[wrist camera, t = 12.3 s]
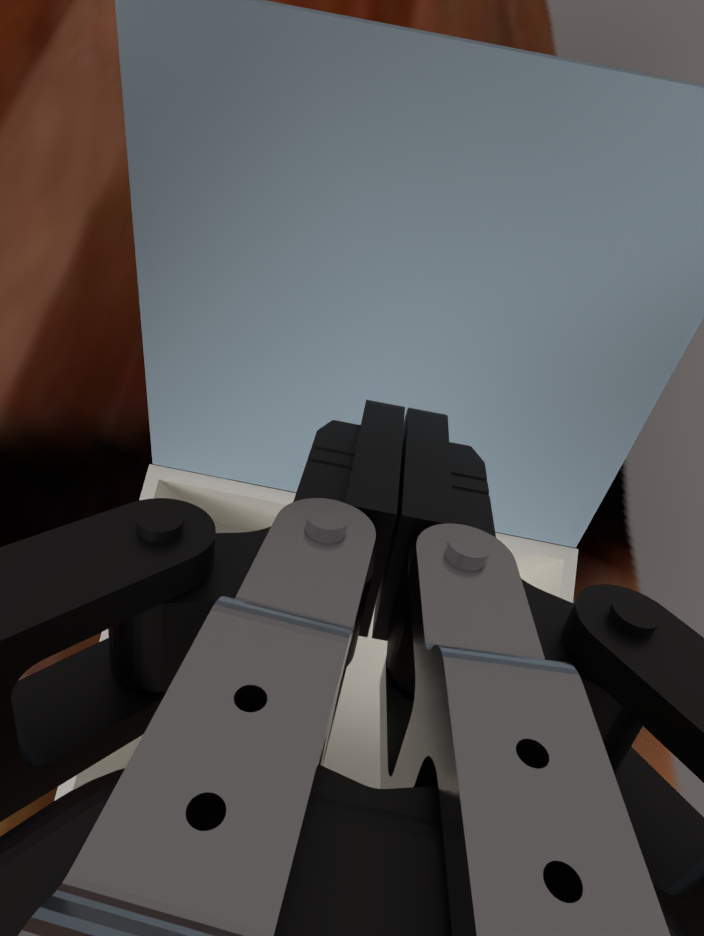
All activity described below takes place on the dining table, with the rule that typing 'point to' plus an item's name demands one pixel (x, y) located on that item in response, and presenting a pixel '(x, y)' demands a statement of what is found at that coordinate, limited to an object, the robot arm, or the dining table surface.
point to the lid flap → (405, 245)
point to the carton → (360, 695)
